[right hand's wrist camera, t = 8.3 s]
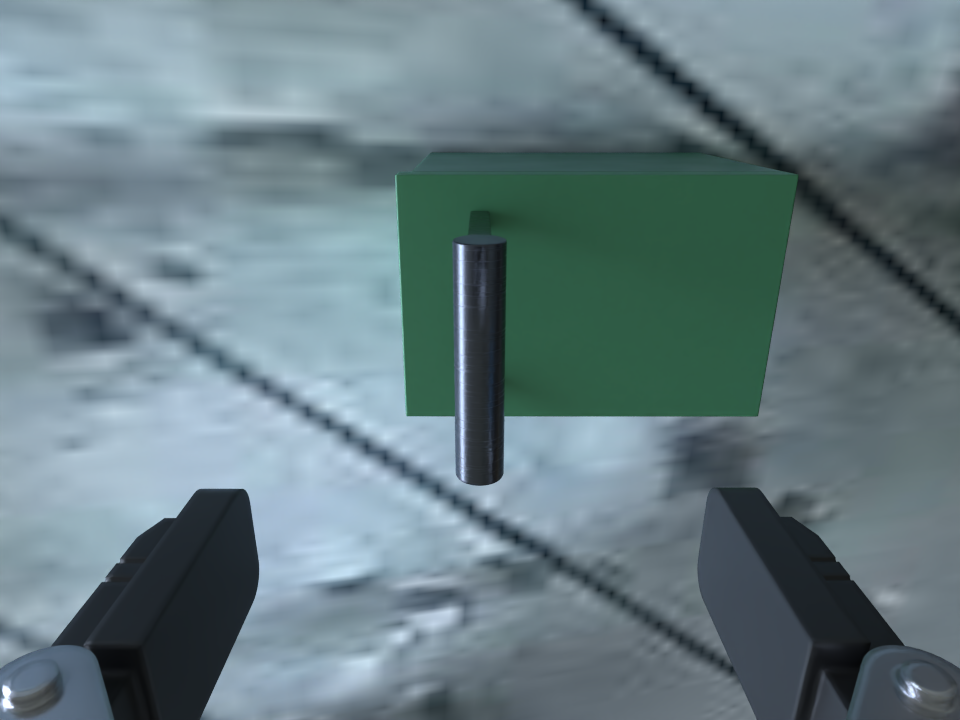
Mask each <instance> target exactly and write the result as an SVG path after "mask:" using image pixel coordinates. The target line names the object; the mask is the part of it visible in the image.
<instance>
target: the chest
mask: <svg viewBox="0 0 960 720" xmlns="http://www.w3.org/2000/svg"><path fill="white" fill-rule="evenodd" d="M412 172H782V171H779V170H774V169H770V168H765V167H761V166H756V165H752V164H747V163H743V162H738V161H734V160H729V159H725V158H720V157H716V156H712V155H707V154H703V153H430V154H429V155H428V156H427V157H426V158H425V159H424V160H423V161H422V162H421V163H420V164H419V165H418V166H417V167H416V168H415V169H414V170H413V171H412Z"/></svg>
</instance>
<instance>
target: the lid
mask: <svg viewBox="0 0 960 720" xmlns="http://www.w3.org/2000/svg"><path fill="white" fill-rule="evenodd" d="M798 177H799V176H798V175H797V174H793V173H788V172H399V173H397V174H396V176H395V182H396V204H397V226H398V248H399V270H400V293H401V315H402V337H403V359H404V381H405V404H406V416H455V450H456V475H457V477H458V478H459V479H460V480H461V481H462V482H464V483H467V484H470V485H477V486H482V485H489V484H493V483H495V482H497V481H499V480H500V479H501V478H502V476H503V469H504V416H758V413H759V407H760V401H761V395H762V389H763V383H764V377H765V371H766V366H767V360H768V354H769V348H770V342H771V336H772V330H773V324H774V318H775V312H776V307H777V301H778V295H779V289H780V283H781V277H782V271H783V265H784V259H785V253H786V248H787V242H788V236H789V230H790V224H791V218H792V212H793V206H794V200H795V194H796V188H797V183H798Z"/></svg>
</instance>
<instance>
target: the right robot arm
mask: <svg viewBox="0 0 960 720" xmlns="http://www.w3.org/2000/svg"><path fill="white" fill-rule="evenodd" d="M105 578H106V580H105V582H102V583H101V584H100V585H99V586H98V588H97V589H96V590H95V591H94V593H93V594H92V595H91V596H90V598H89V599H88V600H87V601H86V603H85V604H84V605H83V607H82V608H81V609H80V610H79V612H78V613H77V614H76V615H75V617H74V618H73V619H72V620H71V622H70V623H69V624H68V625H67V627H66V628H65V629H64V631H63V632H62V633H61V634H60V636H59V637H58V638H57V639H56V641H55V642H54V643H53V644H52V646H51V647H48V648H44V649H40V650H37V651H34V652H31V653H28V654H26V655H24V656H22V657H19V658H17V659H16V660H14V661H12V662H10V663H8V664H7V665H5V666H4V667H2V668H1V669H0V720H200V718H201V715H202V713H203V711H204V709H205V707H206V704H207V702H208V700H209V698H210V696H211V693H212V691H213V689H214V687H215V685H216V682H217V680H218V678H219V676H220V674H221V671H222V669H223V667H224V665H225V663H226V660H227V658H228V656H229V654H230V652H231V649H232V647H233V645H234V643H235V641H236V639H237V636H238V634H239V632H240V630H241V628H242V625H243V623H244V621H245V619H246V617H247V614H248V612H249V610H250V608H251V606H252V603H253V601H254V599H255V595H256V592H257V587H258V580H259V560H258V554H257V547H256V540H255V533H254V527H253V520H252V513H251V506H250V500H249V496H248V494H247V492H246V491H245V490H244V489H199V490H197V491H196V492H195V493H194V494H193V496H192V497H191V499H190V500H189V501H188V503H187V504H186V505H185V507H184V508H183V509H182V511H181V512H180V513H179V515H178V516H177V518H164V519H163V520H161V521H160V522H158V523H157V524H156V525H154V526H153V527H151V528H150V529H148V530H147V531H145V532H144V533H143V534H141V535H140V536H138V537H137V538H136V540H135V541H134V542H133V543H132V545H131V546H130V547H129V548H128V550H127V551H126V552H125V553H124V555H123V556H122V557H121V558H120V563H117V564H116V565H115V566H114V567H113V569H112V570H111V571H110V572H109V574H108V575H107V576H106V577H105ZM698 581H699V587H700V592H701V595H702V598H703V601H704V603H705V605H706V607H707V610H708V612H709V614H710V616H711V618H712V621H713V623H714V625H715V627H716V630H717V632H718V634H719V636H720V638H721V641H722V643H723V645H724V647H725V650H726V652H727V654H728V656H729V658H730V661H731V663H732V665H733V667H734V670H735V672H736V674H737V676H738V678H739V681H740V683H741V685H742V687H743V690H744V692H745V694H746V696H747V698H748V701H749V703H750V705H751V707H752V710H753V712H754V714H755V716H756V718H757V720H960V669H959V668H958V667H956V666H955V665H953V664H952V663H950V662H948V661H946V660H944V659H943V658H941V657H938V656H936V655H934V654H932V653H929V652H926V651H923V650H920V649H916V648H912V647H908V646H904V644H903V643H902V642H901V640H900V639H899V638H898V637H897V635H896V634H895V633H894V632H893V630H892V629H891V628H890V626H889V625H888V624H887V623H886V621H885V620H884V619H883V617H882V616H881V615H880V614H879V612H878V611H877V610H876V609H875V607H874V606H873V605H872V603H871V602H870V601H869V600H868V598H867V597H866V596H865V595H864V593H863V592H862V591H861V589H860V588H859V587H858V586H857V584H856V583H855V582H854V581H851V580H850V575H849V574H848V573H847V572H846V570H845V569H844V568H843V566H842V565H841V564H840V563H839V562H836V560H835V556H834V555H833V554H832V552H831V551H830V550H829V549H828V547H827V546H826V545H825V543H824V542H823V541H822V540H821V538H820V537H819V536H818V535H817V534H815V533H814V532H812V531H811V530H809V529H808V528H807V527H805V526H804V525H802V524H801V523H799V522H798V521H797V520H795V519H794V518H792V517H780V516H779V515H778V514H777V512H776V511H775V510H774V508H773V507H772V505H771V504H770V503H769V501H768V500H767V499H766V497H765V496H764V494H763V493H762V492H761V491H760V490H759V489H758V488H712V489H711V490H710V492H709V494H708V497H707V502H706V509H705V516H704V523H703V529H702V536H701V543H700V550H699V557H698Z"/></svg>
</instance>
